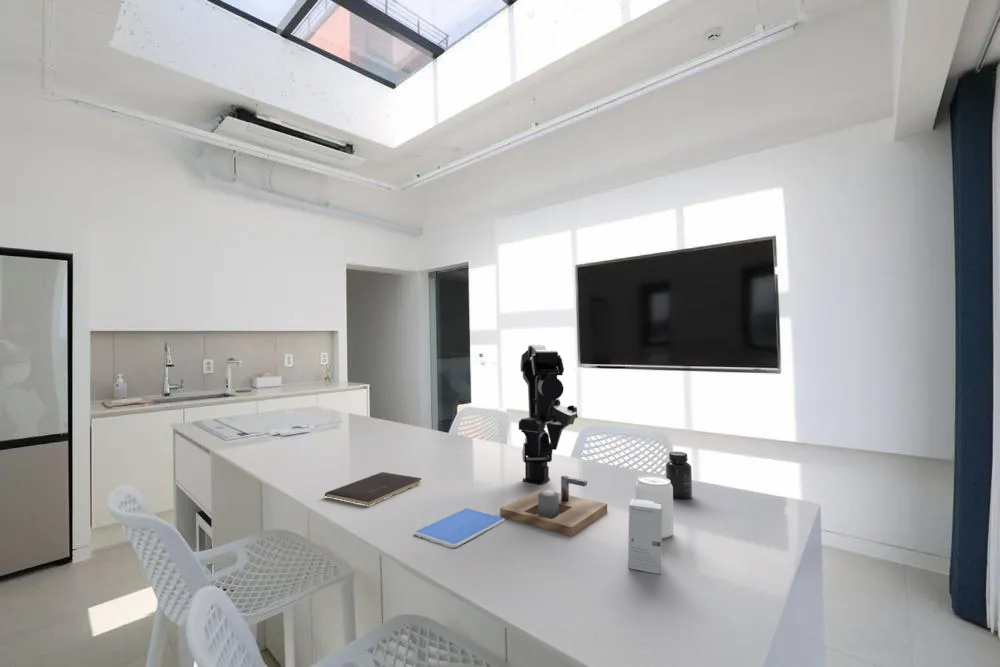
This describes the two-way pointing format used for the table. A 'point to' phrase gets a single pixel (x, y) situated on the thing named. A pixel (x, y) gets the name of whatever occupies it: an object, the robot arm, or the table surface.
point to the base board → (568, 522)
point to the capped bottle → (548, 504)
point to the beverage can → (658, 498)
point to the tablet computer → (459, 527)
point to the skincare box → (645, 535)
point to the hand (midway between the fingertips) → (545, 452)
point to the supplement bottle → (679, 475)
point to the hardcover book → (374, 488)
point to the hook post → (565, 486)
